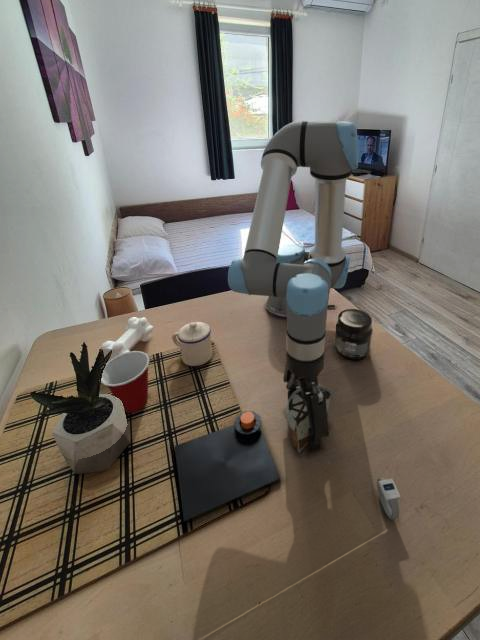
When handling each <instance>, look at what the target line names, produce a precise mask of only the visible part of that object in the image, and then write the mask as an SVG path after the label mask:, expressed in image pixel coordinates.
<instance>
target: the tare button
mask: <svg viewBox="0 0 480 640" xmlns="http://www.w3.org/2000/svg"><path fill="white" fill-rule="evenodd" d="M244 412H245V411H244ZM254 423H255V421H254V414H253V413H251V412H245V413H243V414H242V415H241V426H242V427H243V428H244V429H250V428H252V427H253V426H254Z"/></svg>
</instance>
